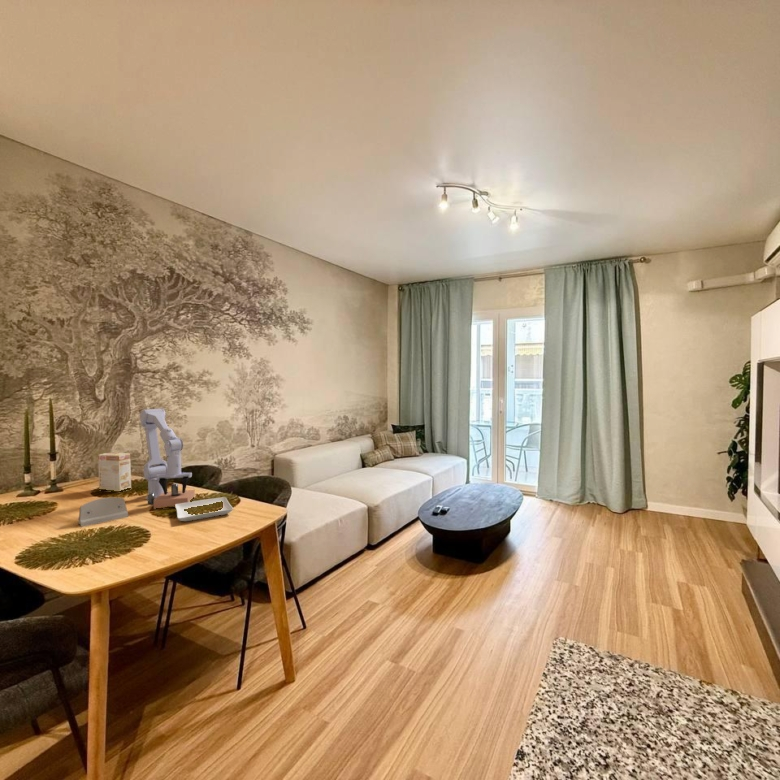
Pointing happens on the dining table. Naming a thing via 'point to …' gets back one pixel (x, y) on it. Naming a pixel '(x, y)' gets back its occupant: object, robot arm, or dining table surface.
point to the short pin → (150, 498)
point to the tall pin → (174, 490)
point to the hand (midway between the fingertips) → (174, 493)
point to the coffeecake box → (114, 471)
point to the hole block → (173, 498)
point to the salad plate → (185, 516)
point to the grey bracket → (102, 511)
